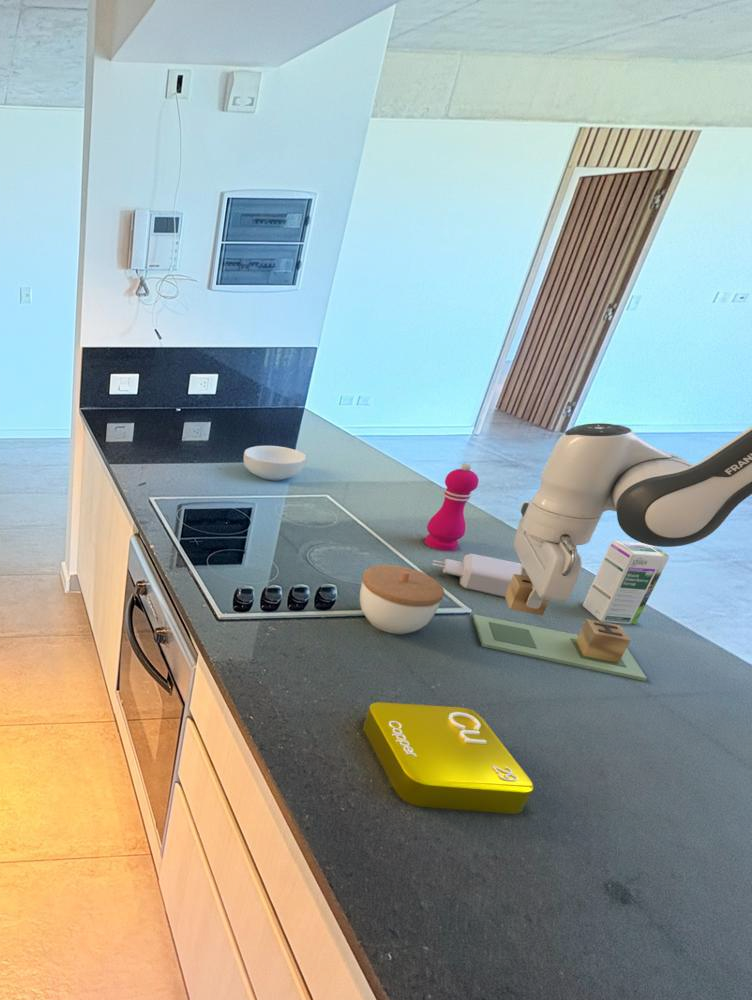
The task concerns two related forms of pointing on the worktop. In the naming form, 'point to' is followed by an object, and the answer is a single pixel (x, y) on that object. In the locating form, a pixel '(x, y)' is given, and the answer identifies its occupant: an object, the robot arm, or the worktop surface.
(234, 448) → the worktop surface
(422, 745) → the element tile
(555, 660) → the word board
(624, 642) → the block
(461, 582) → the charger
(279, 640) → the worktop surface
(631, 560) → the syrup box
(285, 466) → the cereal bowl
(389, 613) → the lidded bowl
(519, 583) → the block
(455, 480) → the pepper mill
